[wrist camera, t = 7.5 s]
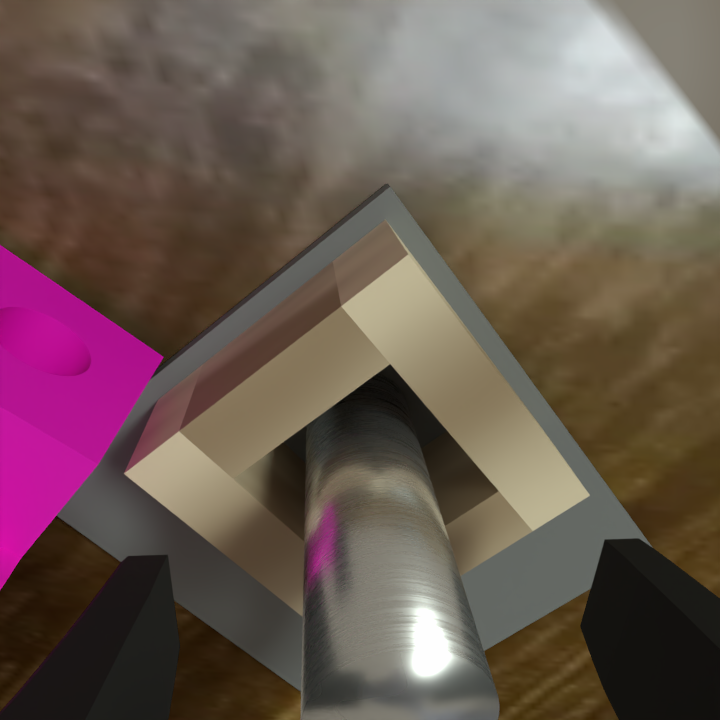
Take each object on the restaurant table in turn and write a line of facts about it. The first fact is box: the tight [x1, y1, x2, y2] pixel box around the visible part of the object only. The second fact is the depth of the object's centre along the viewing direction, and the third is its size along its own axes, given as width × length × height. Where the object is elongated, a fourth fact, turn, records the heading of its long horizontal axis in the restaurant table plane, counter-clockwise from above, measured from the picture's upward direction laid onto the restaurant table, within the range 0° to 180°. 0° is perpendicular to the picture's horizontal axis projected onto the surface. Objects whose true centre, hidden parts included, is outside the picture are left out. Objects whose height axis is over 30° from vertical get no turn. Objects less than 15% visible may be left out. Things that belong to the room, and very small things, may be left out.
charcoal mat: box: [56, 184, 652, 691], centre depth 17 cm, size 14×12×1 cm
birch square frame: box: [124, 219, 590, 617], centre depth 13 cm, size 7×7×3 cm
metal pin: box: [301, 373, 499, 720], centre depth 11 cm, size 3×3×8 cm
